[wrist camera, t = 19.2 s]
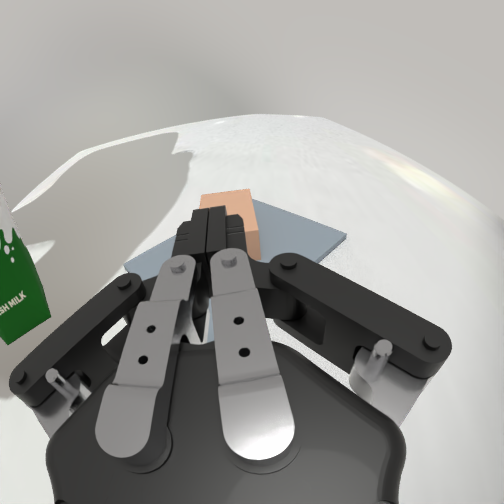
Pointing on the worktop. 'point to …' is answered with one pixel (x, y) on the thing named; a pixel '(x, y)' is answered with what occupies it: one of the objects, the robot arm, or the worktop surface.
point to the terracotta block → (242, 206)
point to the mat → (271, 243)
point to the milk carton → (17, 282)
